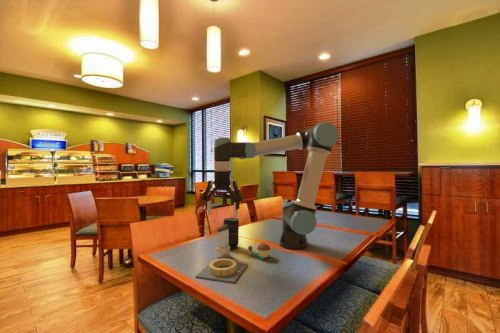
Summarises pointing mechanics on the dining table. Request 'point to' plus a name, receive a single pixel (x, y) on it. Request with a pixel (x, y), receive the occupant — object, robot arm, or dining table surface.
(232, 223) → the camera lens
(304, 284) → the dining table surface
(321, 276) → the dining table surface
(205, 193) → the robot arm
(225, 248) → the white pillar stand
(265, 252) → the figurine
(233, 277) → the mount
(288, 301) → the dining table surface
